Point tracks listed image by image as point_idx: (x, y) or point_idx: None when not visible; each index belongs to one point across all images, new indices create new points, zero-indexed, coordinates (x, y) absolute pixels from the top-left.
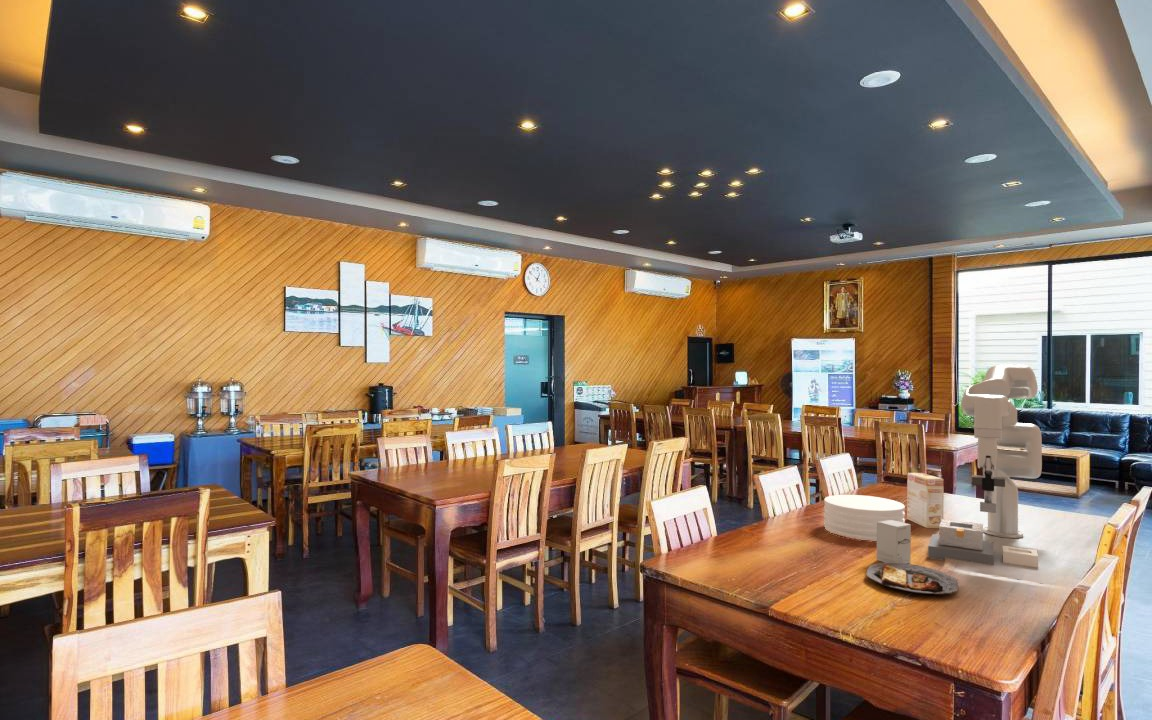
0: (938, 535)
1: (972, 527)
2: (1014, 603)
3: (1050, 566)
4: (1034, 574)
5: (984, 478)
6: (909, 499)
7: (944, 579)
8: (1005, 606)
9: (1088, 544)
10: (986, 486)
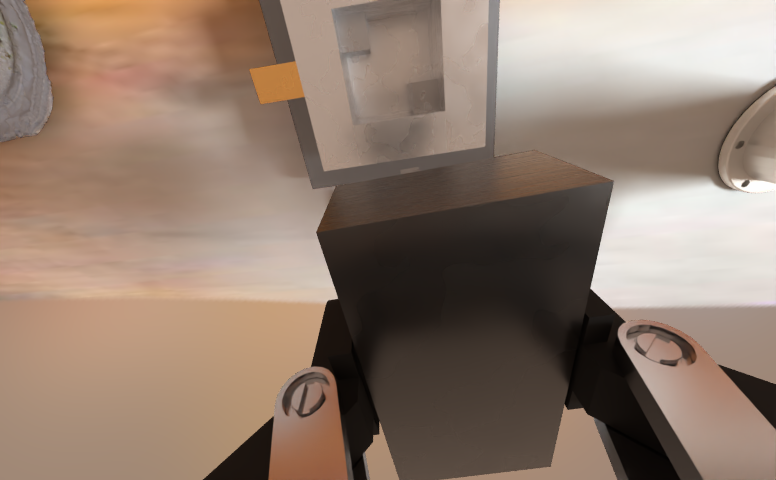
0: None
1: (378, 121)
2: (75, 251)
3: None
4: None
5: (336, 370)
6: None
7: (24, 93)
8: (33, 241)
9: (699, 306)
10: (329, 314)
